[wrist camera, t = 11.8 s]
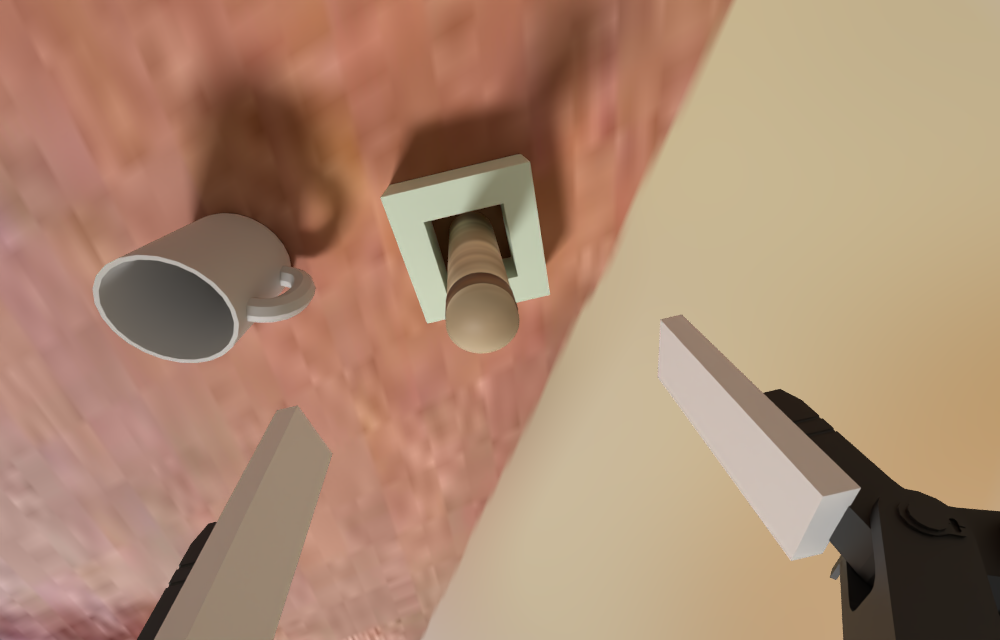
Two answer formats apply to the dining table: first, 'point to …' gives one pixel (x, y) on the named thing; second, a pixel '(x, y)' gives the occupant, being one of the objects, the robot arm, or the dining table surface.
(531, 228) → the square block with hole
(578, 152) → the dining table surface
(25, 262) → the dining table surface
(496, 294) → the striped wooden dowel
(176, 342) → the cup
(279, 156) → the dining table surface
